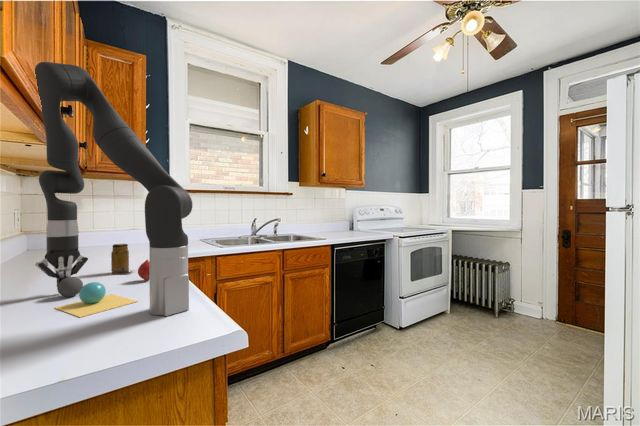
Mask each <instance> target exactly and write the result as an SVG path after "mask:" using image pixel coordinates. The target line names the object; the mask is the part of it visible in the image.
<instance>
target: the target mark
mask: <svg viewBox="0 0 640 426" xmlns="http://www.w3.org/2000/svg"><path fill="white" fill-rule="evenodd" d="M138 302H139V301H138V300H135V299H132V298H128V297H123V296H121V295H117V294H105V296H104V298H103V299H102V300H101V301H99V302H97V303H94V304H86V303H84V302H82V301H81V300H80V301H77V302H72V303H68V304H63V305H60V306H55V307H54V309H56V310H58V311H61V312H65V313H66V314H70V315H72V316H75V317H77V318H84V317H87V316H92V315H95V314H98V313H102V312H106V311H108V310H110V311H111V310H113V309H116V308H121V307H123V306H127V305H130V304H131V303H132V304H135V303H138ZM132 304H131V305H132Z"/></svg>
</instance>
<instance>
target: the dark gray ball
mask: <svg viewBox="0 0 640 426" xmlns="http://www.w3.org/2000/svg"><path fill="white" fill-rule="evenodd" d="M83 286H84V283H83V281H82V279H80V278H79V277H76V276H70V277H67V278H65V279H63V280H62V281H61V282H60V283H59V284H58V287H57V286H56V290H57V292H58V294H60V296H62V297H65V298H70V297H71V298H72V297H75V296H76V295H79V292H80V290H81V288H82V287H83Z"/></svg>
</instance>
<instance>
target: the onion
mask: <svg viewBox="0 0 640 426" xmlns="http://www.w3.org/2000/svg"><path fill="white" fill-rule="evenodd" d="M137 274H138V276H139V277H140V279H143V280H144V281H146V282H148V281H150V262H149V259H146V260H145V261H144V262H143V263H141V264H140V266H139V267H138V270H137Z"/></svg>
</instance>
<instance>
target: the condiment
mask: <svg viewBox="0 0 640 426" xmlns="http://www.w3.org/2000/svg"><path fill="white" fill-rule="evenodd" d="M128 246H129V245H128V244H127V243H117V244H116V243H115V244H112V249H111V254H110V256H111V257H110V258H111V262H110V263H111V265H110V267H111V270H110V271H111V272H110V273H107V274H106V275H110V276H111V275H126V274H127V275H129V274H132V273H135V272H138V270H136V271H135V270H130V261H129V260H130V253H129V247H128ZM129 271H130V272H129Z"/></svg>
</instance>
